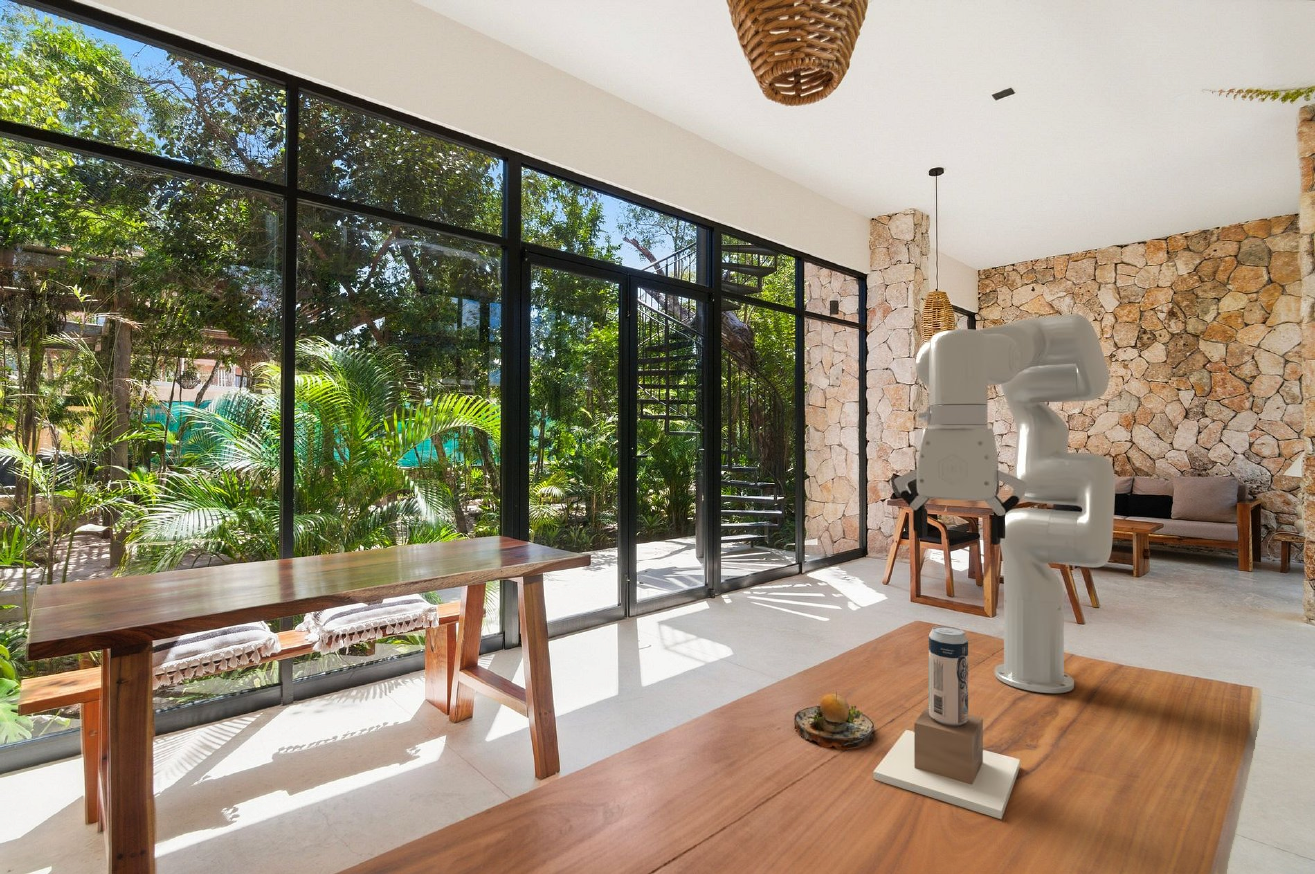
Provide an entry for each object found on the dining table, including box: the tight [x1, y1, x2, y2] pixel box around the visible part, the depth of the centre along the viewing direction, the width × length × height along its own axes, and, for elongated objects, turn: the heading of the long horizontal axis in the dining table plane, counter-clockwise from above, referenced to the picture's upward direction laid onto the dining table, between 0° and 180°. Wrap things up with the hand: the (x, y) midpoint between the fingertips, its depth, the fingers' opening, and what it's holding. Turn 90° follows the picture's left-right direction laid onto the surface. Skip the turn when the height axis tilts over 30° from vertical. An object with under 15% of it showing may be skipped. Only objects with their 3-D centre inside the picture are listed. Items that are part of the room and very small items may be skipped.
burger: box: [793, 692, 875, 750], centre depth 99 cm, size 12×12×8 cm
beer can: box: [928, 625, 969, 726], centre depth 86 cm, size 5×5×12 cm
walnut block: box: [913, 704, 984, 785], centre depth 86 cm, size 7×7×6 cm
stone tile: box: [872, 729, 1021, 820], centre depth 86 cm, size 15×15×1 cm
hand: (957, 540), depth 91 cm, fingers open, 9 cm apart
